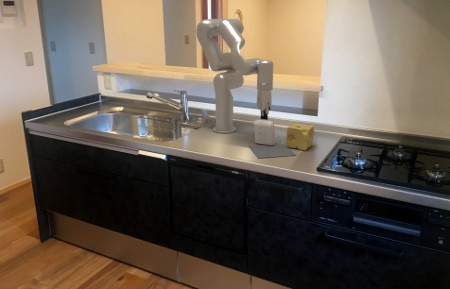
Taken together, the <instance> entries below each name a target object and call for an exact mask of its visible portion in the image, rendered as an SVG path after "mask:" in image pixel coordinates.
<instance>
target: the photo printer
mask: <svg viewBox="0 0 450 289" xmlns="http://www.w3.org/2000/svg"><path fill="white" fill-rule="evenodd" d="M253 130H254V142H255V143H256V144H259V145H276V144H275V143H276V135H275V134H276V132H275V123H274V122H273V121H271V120H269V119H268V120H264V119H261V118H260V119H256V120H254V122H253Z"/></svg>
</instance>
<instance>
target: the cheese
mask: <svg viewBox="0 0 450 289" xmlns="http://www.w3.org/2000/svg"><path fill="white" fill-rule="evenodd" d="M314 135H315V126H314V125H312V124H310V125H309V124H301V123H296V122H293V124H291V125H290V126H288V127H287V129H286V137H285V138H286V139H285V145H286V147H288V148H290V149H291V148H292V149H298V150H301V151H307V149H309V148H310V147H311V146H312V145H313V141H314Z"/></svg>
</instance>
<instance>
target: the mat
mask: <svg viewBox="0 0 450 289" xmlns="http://www.w3.org/2000/svg"><path fill="white" fill-rule="evenodd" d="M248 148H249V149H250V150H251V151H252V153H253V154H254V156H255V157H256V158H257V159H258V160H259V159H270V158H271V159H272V158H273V159H274V158H286V157H296V156H297V154H296V153H295V152H294V151H292V150H291V148H290V147H286V143H281V144H279V143H278V144H274V145H265V144H262V145H250V146H249V147H248Z"/></svg>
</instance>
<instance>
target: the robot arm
mask: <svg viewBox="0 0 450 289" xmlns="http://www.w3.org/2000/svg"><path fill="white" fill-rule="evenodd" d="M243 24H244V23H243V22H242V20H240V19H238V18H207V19H203V20H200V21H199V22H198V24H197V26H196V31H195V32H196V33H195V34H196V39H197V41H198V43H199V44H200V46H201V48H202V50H203V53H204V55H205V57H206V61H207V63H208V66H209V68H210V70H211V71H213V72H216V73H217V72H220V73H217V74H216V75H215V76H214V77H213V82H212V84H213V87H214V95H215V97H214V98H215V126H214V127H212V131H213V132H214V133H218V134H230V133H233V132H234V133H235V132H236V130H237V128H236V126H234V96H233V94H232V92H231V90H237V89H239V88H241V87H242V86H243V84H244V82H245V78H244V76H251V75H256V76H257V77H256V90H257V93H256V108H257V109H258V110H260V119H264V120H269V119H268V118H269V114H270V111H271V110H272V104H273V103H272V91H273V88H274V86H273V85H274V62H273V60H270V59H262V58H257V57H255V58H246V59H245V57H244V56H243V55H242V53H241V51H240V50H241V49H242V48H243V47H244V46H245V43H246V40H245V38H244V37H243V35H242V34H243V32H244V29H245V27H244V25H243ZM213 36H215V37H216V36H220V37H221V38H222V40H223V41H224V42H225V43H226V45H227V46H228V48H229V50H230V52H223V51H222V50H221V48H220V45H219V43H218V42H217V40H216V39H215V38H213Z"/></svg>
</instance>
